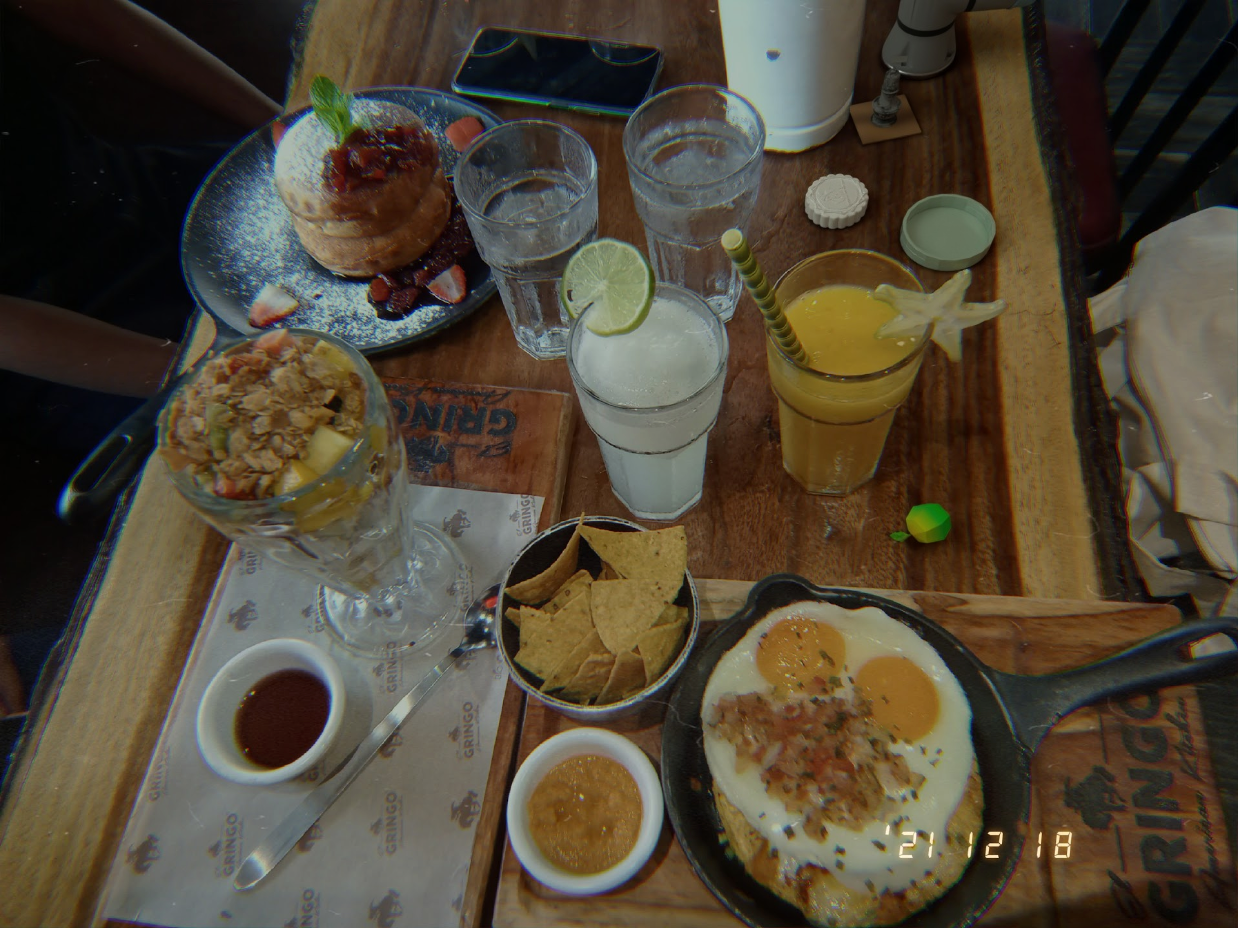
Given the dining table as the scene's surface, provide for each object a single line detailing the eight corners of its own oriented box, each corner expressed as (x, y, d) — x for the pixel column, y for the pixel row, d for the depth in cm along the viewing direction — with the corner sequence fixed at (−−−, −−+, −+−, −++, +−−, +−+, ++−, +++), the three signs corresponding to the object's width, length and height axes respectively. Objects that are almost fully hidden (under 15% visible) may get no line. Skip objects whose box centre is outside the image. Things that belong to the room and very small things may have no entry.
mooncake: (799, 191, 149) (800, 177, 146) (858, 180, 148) (861, 166, 145) (811, 234, 144) (812, 221, 141) (873, 224, 143) (876, 210, 140)
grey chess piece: (897, 129, 152) (909, 77, 142) (868, 128, 154) (878, 76, 143) (898, 109, 155) (910, 56, 144) (870, 109, 156) (879, 57, 145)
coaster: (847, 107, 158) (848, 106, 157) (904, 96, 157) (904, 94, 156) (862, 145, 152) (863, 144, 152) (921, 133, 151) (921, 132, 151)
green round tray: (889, 215, 143) (892, 203, 141) (973, 198, 142) (978, 186, 139) (914, 278, 136) (917, 267, 133) (1003, 261, 135) (1008, 250, 132)
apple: (951, 497, 109) (905, 531, 108) (968, 532, 110) (922, 565, 109) (920, 489, 116) (876, 521, 114) (936, 522, 117) (893, 553, 116)
